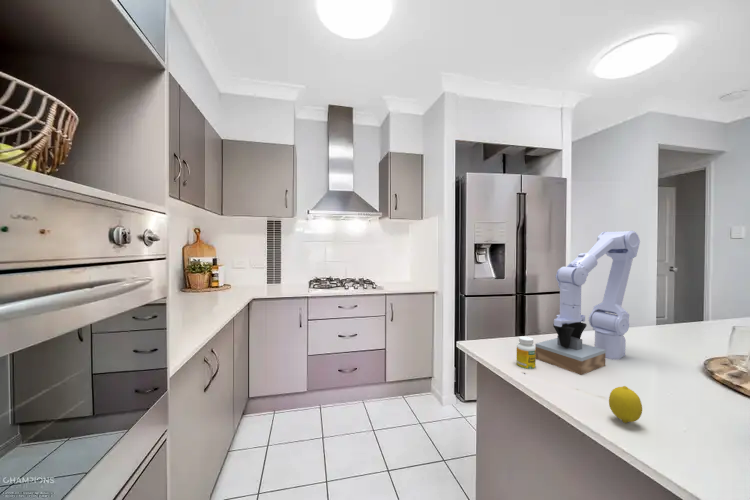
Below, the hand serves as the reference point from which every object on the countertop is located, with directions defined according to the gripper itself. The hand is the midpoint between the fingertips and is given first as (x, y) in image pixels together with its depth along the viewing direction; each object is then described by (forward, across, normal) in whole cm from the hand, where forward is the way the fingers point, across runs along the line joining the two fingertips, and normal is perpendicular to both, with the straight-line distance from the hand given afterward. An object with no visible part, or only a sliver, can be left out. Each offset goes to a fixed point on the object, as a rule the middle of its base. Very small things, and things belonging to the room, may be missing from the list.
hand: (569, 345), depth 95 cm
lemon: (+6, +22, +23) cm, 32 cm away
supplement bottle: (+6, +15, -5) cm, 17 cm away
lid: (+3, 0, 0) cm, 3 cm away
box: (+6, 0, 0) cm, 6 cm away
